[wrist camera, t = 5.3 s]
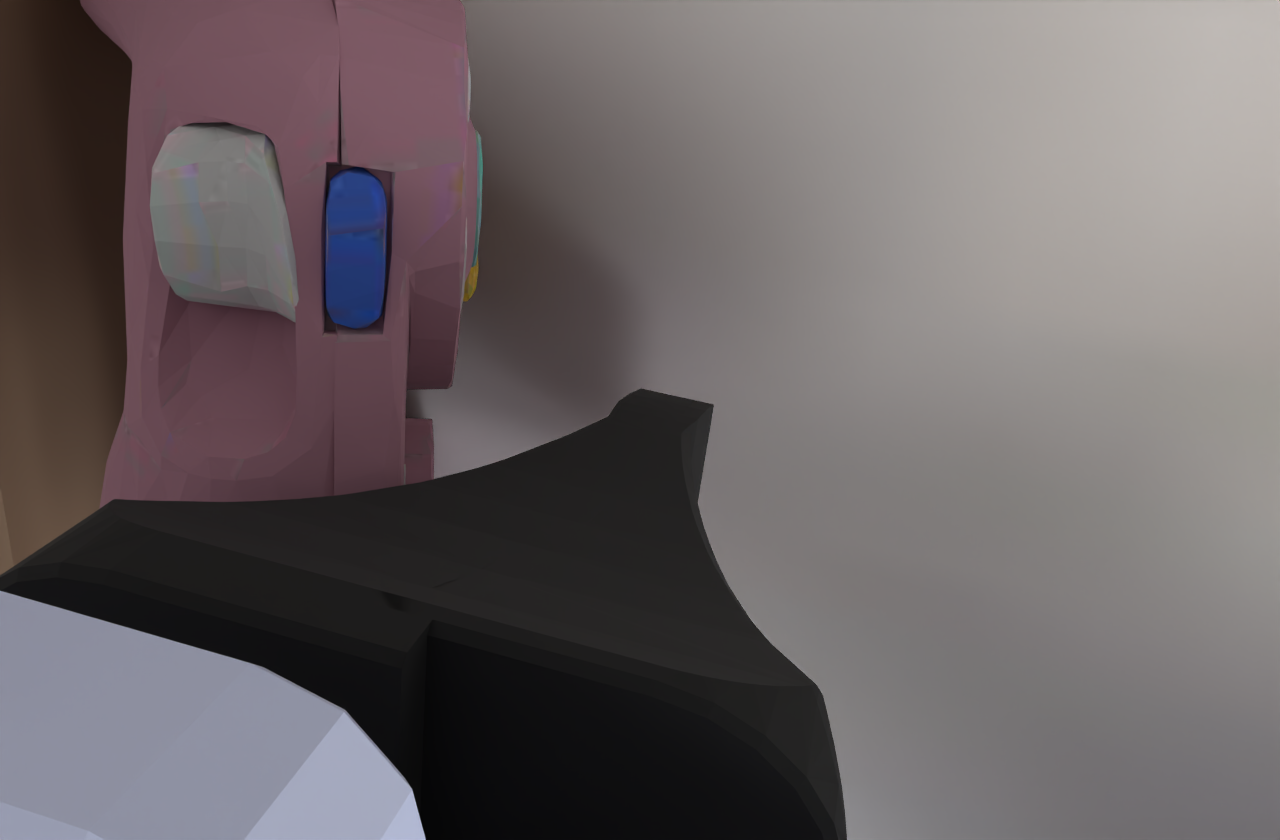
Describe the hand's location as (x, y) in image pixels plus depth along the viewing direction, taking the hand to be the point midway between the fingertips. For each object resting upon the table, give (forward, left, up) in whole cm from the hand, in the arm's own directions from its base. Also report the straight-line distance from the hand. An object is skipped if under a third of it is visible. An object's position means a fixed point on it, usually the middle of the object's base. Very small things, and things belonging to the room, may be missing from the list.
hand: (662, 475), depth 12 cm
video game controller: (+4, 0, -2) cm, 4 cm away
